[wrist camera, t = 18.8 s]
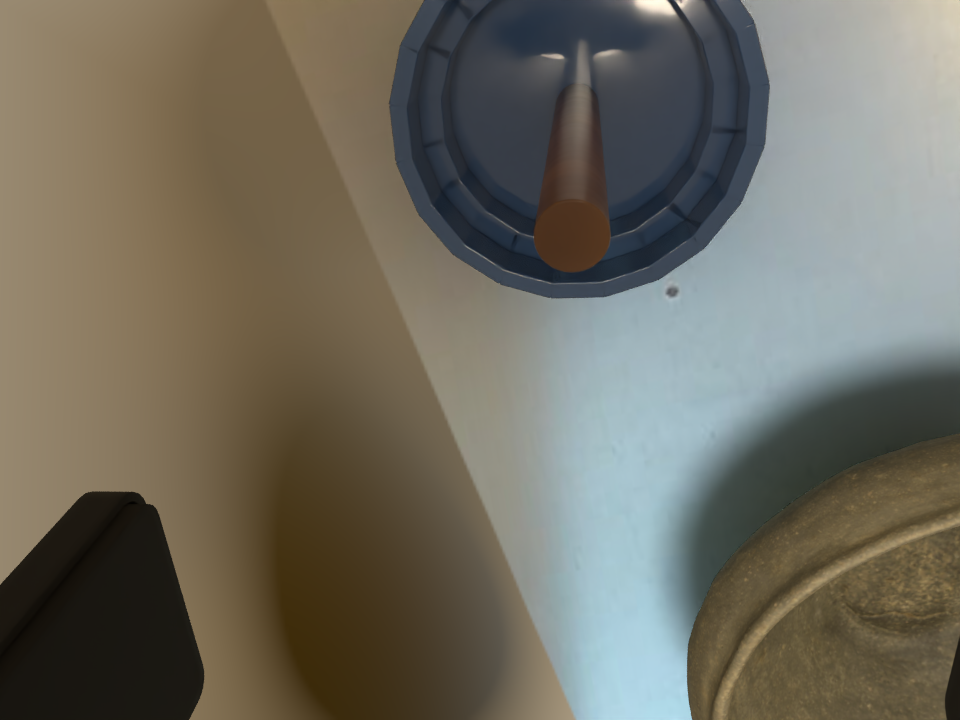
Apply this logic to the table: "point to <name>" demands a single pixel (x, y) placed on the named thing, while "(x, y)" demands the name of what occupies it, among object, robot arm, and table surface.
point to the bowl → (840, 600)
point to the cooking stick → (574, 186)
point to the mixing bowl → (623, 118)
